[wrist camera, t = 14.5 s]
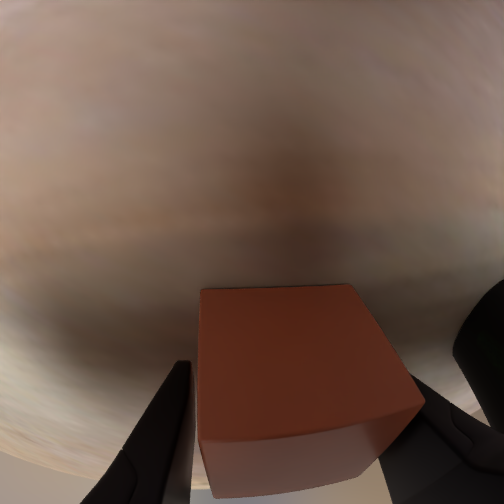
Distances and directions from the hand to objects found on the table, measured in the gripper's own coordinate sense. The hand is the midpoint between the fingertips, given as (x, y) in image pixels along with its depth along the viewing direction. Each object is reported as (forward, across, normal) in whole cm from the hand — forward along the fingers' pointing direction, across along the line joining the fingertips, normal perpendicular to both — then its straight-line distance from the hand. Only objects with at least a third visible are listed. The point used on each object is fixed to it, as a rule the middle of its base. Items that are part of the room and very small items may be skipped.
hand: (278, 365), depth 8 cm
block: (+1, 0, 0) cm, 1 cm away
